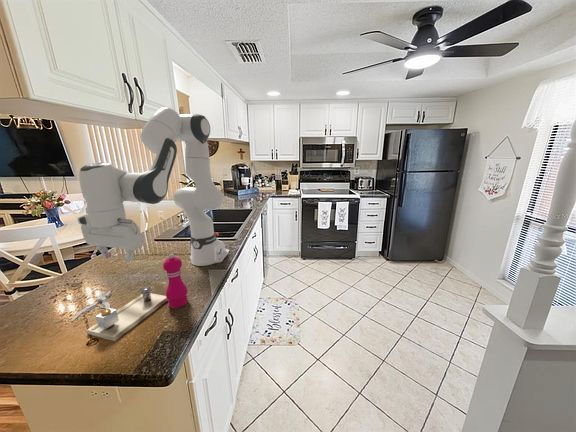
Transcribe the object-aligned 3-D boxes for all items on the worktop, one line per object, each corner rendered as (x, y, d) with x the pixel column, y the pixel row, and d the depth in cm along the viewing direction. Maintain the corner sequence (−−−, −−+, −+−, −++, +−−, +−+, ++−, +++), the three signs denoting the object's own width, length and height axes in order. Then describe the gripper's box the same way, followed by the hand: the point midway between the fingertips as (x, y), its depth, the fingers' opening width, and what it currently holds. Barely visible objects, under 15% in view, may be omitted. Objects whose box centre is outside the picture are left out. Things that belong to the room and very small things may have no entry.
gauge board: (145, 295, 90) (145, 291, 89) (168, 299, 87) (167, 295, 86) (87, 334, 70) (86, 329, 70) (114, 341, 67) (113, 336, 67)
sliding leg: (112, 320, 73) (108, 306, 72) (119, 322, 72) (115, 307, 71) (99, 329, 69) (95, 314, 68) (106, 331, 69) (102, 316, 67)
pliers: (69, 318, 75) (91, 294, 89) (70, 322, 75) (92, 297, 89) (105, 312, 78) (120, 289, 92) (106, 316, 78) (121, 292, 92)
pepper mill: (166, 301, 86) (158, 253, 81) (186, 295, 90) (179, 248, 85) (169, 311, 80) (161, 260, 75) (190, 304, 84) (184, 254, 79)
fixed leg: (147, 297, 86) (145, 286, 85) (154, 298, 85) (152, 287, 84) (140, 302, 83) (138, 290, 82) (147, 303, 82) (145, 292, 81)
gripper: (144, 217, 69) (152, 258, 72) (95, 213, 74) (104, 251, 78) (124, 223, 63) (134, 267, 67) (72, 218, 68) (84, 259, 72)
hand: (118, 258), depth 72 cm, fingers open, 8 cm apart
